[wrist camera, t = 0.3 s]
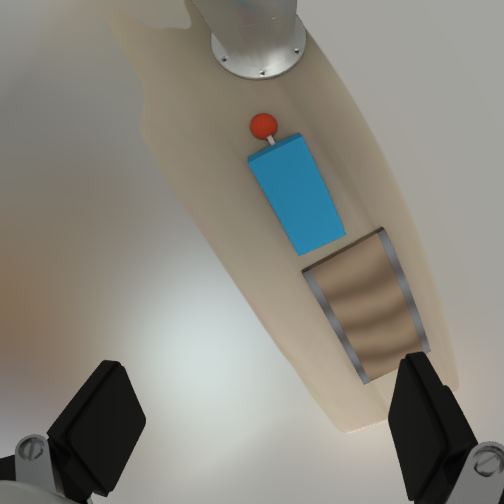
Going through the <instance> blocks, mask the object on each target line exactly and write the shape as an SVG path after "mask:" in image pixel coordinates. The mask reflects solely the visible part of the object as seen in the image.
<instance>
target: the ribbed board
mask: <svg viewBox="0 0 504 504" xmlns="http://www.w3.org/2000/svg"><path fill="white" fill-rule="evenodd" d="M302 274H303V276H304V278H305V280H306V281H307V283H308V285H309V287H310V288H311V290H312V292H313V294H314V295H315V297H316V299H317V301H318V302H319V304H320V306H321V308H322V309H323V311H324V313H325V315H326V316H327V318H328V320H329V322H330V324H331V325H332V327H333V329H334V331H335V333H336V334H337V336H338V338H339V340H340V342H341V343H342V345H343V347H344V349H345V351H346V352H347V354H348V356H349V358H350V360H351V362H352V363H353V365H354V367H355V369H356V371H357V373H358V374H359V376H360V378H361V380H362V382H363V384H364V385H365V384H367V383H369V382H370V381H372V380H375V379H377V378H379V377H381V376H383V375H385V374H387V373H389V372H391V371H393V370H395V369H397V368H399V364H400V360H401V359H404V358H405V356H406V354H408V353H414V352H420V351H423V352H424V353H425V354H426V353H428V352H430V351H431V350H430V347H429V344H428V341H427V337H426V334H425V331H424V328H423V325H422V322H421V319H420V316H419V313H418V310H417V308H416V305H415V302H414V299H413V297H412V294H411V291H410V289H409V286H408V283H407V281H406V278H405V276H404V273H403V271H402V268H401V266H400V263H399V261H398V258H397V256H396V254H395V251H394V249H393V246H392V244H391V242H390V240H389V237H388V235H387V233H386V231H385V229H384V228H383V227H381V228H379V229H378V230H376V231H374V232H372V233H370V234H369V235H367V236H365V237H363V238H361V239H360V240H358V241H356V242H354V243H352V244H350V245H349V246H347V247H345V248H343V249H341V250H339V251H337V252H336V253H334V254H332V255H330V256H328V257H326V258H324V259H322V260H321V261H319V262H317V263H315V264H313V265H311V266H309V267H307V268H305V269H303V270H302Z"/></svg>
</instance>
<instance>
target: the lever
mask: <svg viewBox="0 0 504 504" xmlns="http://www.w3.org/2000/svg"><path fill="white" fill-rule="evenodd" d="M250 128H251V131H252V133H253V135H254V136H256V137H257V138H259V139H268V140H269V142H270V144H271V146H269V147H267V148H265V149H263V150H261V151H259V152H257V153H255V154H253V155H251V156H249V157H248V164H249V166H250V168H251V170H252V171H253V173H254V175H255V177H256V178H257V180H258V182H259V184H260V186H261V187H262V189H263V191H264V193H265V194H266V196H267V198H268V200H269V202H270V203H271V205H272V207H273V209H274V211H275V213H276V214H277V216H278V218H279V220H280V222H281V224H282V225H283V227H284V229H285V231H286V233H287V235H288V237H289V238H290V240H291V242H292V244H293V246H294V248H295V250H296V251H297V253H298V255H299V256H300V255H302V254H305V253H307V252H309V251H311V250H314V249H316V248H318V247H320V246H322V245H325V244H327V243H329V242H331V241H333V240H336V239H338V238H340V237H342V236H344V235H346V233H345V231H344V228H343V226H342V224H341V221H340V219H339V216H338V214H337V211H336V209H335V207H334V204H333V202H332V200H331V197H330V195H329V193H328V190H327V188H326V186H325V184H324V181H323V179H322V177H321V175H320V172H319V170H318V168H317V166H316V164H315V162H314V159H313V157H312V155H311V153H310V151H309V149H308V147H307V145H306V143H305V141H304V138H303V137H302V135H301V134H300V133H296V134H294V135H292V136H290V137H288V138H286V139H284V140H281V141H279V142H277V143H275V142H274V140H273V138H272V136H274V134H275V133H276V131H277V122H276V120H275V119H274V117H272V116H271V115H269V114H266V113H262V114H258V115H257V116H255V117H254V118H253V119H252V121H251V124H250Z"/></svg>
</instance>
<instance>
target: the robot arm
mask: <svg viewBox="0 0 504 504" xmlns="http://www.w3.org/2000/svg"><path fill="white" fill-rule="evenodd" d="M191 1H192V2H193V4H194V5H195V7H196V8H197V9H198V11H199V13H200V14H201V16H202V17H203V18H204V20H205V21H206V23H207V24H208V26H209V27H210V29H211V30H212V33H211V47H212V51H213V53H214V56H215V58H216V59H217V60H218V62H219V63H220V64H221V65H222V66H223V67H224V68H225V69H226V70H228V71H229V72H230V73H232V74H234V75H236V76H238V77H242V78H246V79H252V80H264V79H270V78H274V77H277V76H279V75H282V74H284V73H286V72H287V71H289V70H290V69H291V68H293V67H294V66H295V65H296V64H297V63H298V61H299V60H300V58H301V57H302V55H303V52H304V50H305V46H306V32H305V28H304V25H303V23H302V21H301V20H300V18H299V17H298V15H297V14H296V7H297V0H191ZM296 51H298V52H299V53H298V54H297V53H295V52H296ZM224 59H226V60H227V61H225V62H223V60H224ZM261 73H265V75H261ZM388 423H389V427H390V430H391V434H392V437H393V441H394V444H395V448H396V451H397V456H398V459H399V463H400V467H401V471H402V475H403V479H404V483H405V487H406V492H407V496H408V499H409V500H410V501H413V500H414V504H504V446H503V445H502V444H499V443H497V442H490V441H489V442H483V443H481V444H478V442H477V440H476V438H475V436H474V434H473V432H472V430H471V428H470V426H469V424H468V422H467V420H466V418H465V416H464V414H463V412H462V410H461V408H460V406H459V404H458V403H457V401H456V399H455V397H454V395H453V393H452V392H451V390H450V388H449V387H448V386H446V385H444V386H443V384H442V382H441V381H440V379H439V377H438V375H437V373H436V372H435V370H434V368H433V366H432V365H431V363H430V361H429V359H428V358H427V356H426V354H425V353H424V352H423V351H420V352H414V353H408V354H406V356H405V358H404V359H401V360H400V364H399V369H398V374H397V379H396V384H395V388H394V393H393V397H392V402H391V406H390V410H389V414H388ZM145 424H146V417H145V415H144V413H143V410H142V408H141V406H140V404H139V401H138V399H137V397H136V394H135V392H134V390H133V387H132V385H131V382H130V380H129V377H128V375H127V372H126V370H125V368H124V367H123V366H122V365H121V364H120V362H118V361H110V360H104V361H102V362H101V363H100V365H99V366H98V367H97V368H96V370H95V371H94V372H93V373H92V375H91V376H90V377H89V378H88V380H87V381H86V382H85V383H84V385H83V386H82V387H81V388H80V390H79V391H78V392H77V394H76V395H75V396H74V397H73V399H72V400H71V401H70V402H69V404H68V405H67V406H66V408H65V409H64V410H63V412H62V413H61V414H60V415H59V417H58V418H57V419H56V421H55V422H54V423H53V425H52V426H51V427H50V429H49V430H48V431H47V434H48V436H49V438H48V439H47V440H46V439H45V438H44V437H43V436H41V435H36V434H33V435H29V436H26V437H24V438H23V439H21V440H20V441H19V443H18V444H17V446H16V449H15V455H11V456H8V457H4V458H0V504H93V502H92V499H91V494H92V492H94V493H95V494H98V495H101V496H104V497H107V496H108V493H109V492H111V491H113V490H114V488H115V486H116V484H117V482H118V480H119V478H120V476H121V474H122V471H123V470H124V467H125V465H126V463H127V461H128V459H129V457H130V455H131V453H132V451H133V449H134V447H135V445H136V443H137V441H138V439H139V437H140V435H141V433H142V431H143V429H144V427H145Z"/></svg>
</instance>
